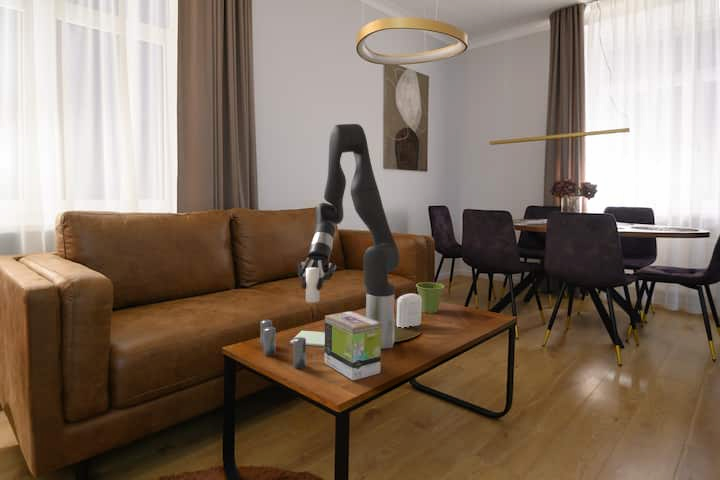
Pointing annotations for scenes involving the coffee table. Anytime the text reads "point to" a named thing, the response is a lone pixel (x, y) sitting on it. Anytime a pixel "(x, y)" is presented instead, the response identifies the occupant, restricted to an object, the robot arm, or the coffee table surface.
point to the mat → (312, 338)
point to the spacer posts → (270, 344)
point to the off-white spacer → (312, 284)
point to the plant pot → (430, 296)
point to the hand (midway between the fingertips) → (311, 288)
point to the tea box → (353, 344)
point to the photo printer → (409, 310)
